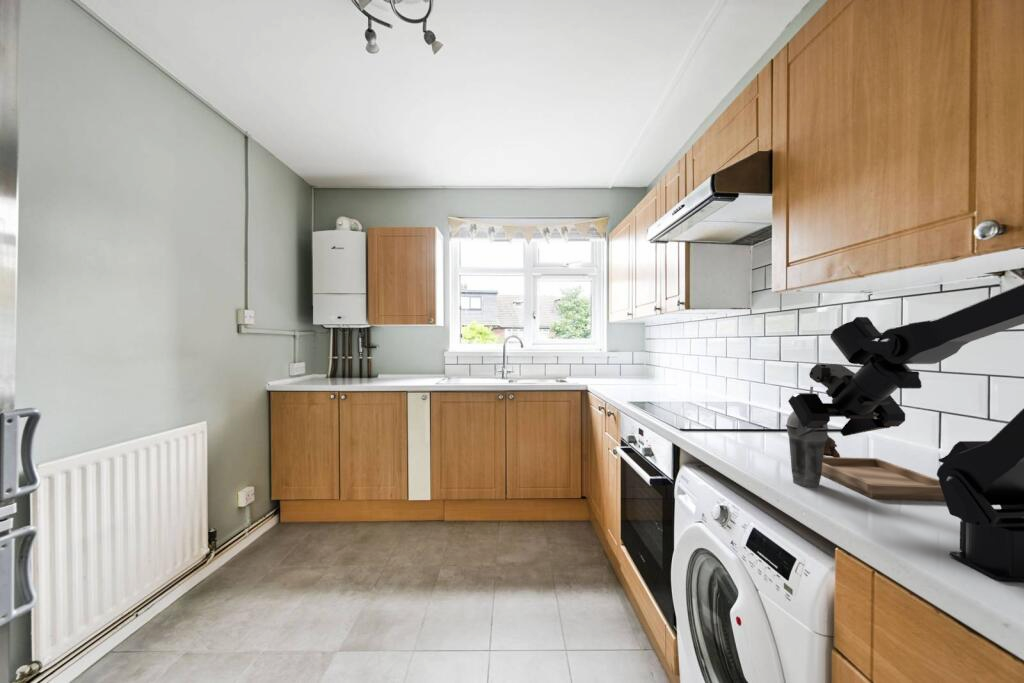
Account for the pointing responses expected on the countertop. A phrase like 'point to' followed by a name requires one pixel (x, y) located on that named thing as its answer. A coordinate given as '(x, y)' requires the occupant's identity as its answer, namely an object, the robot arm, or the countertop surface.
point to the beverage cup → (806, 452)
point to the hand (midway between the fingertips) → (820, 433)
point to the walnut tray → (881, 479)
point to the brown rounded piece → (830, 448)
